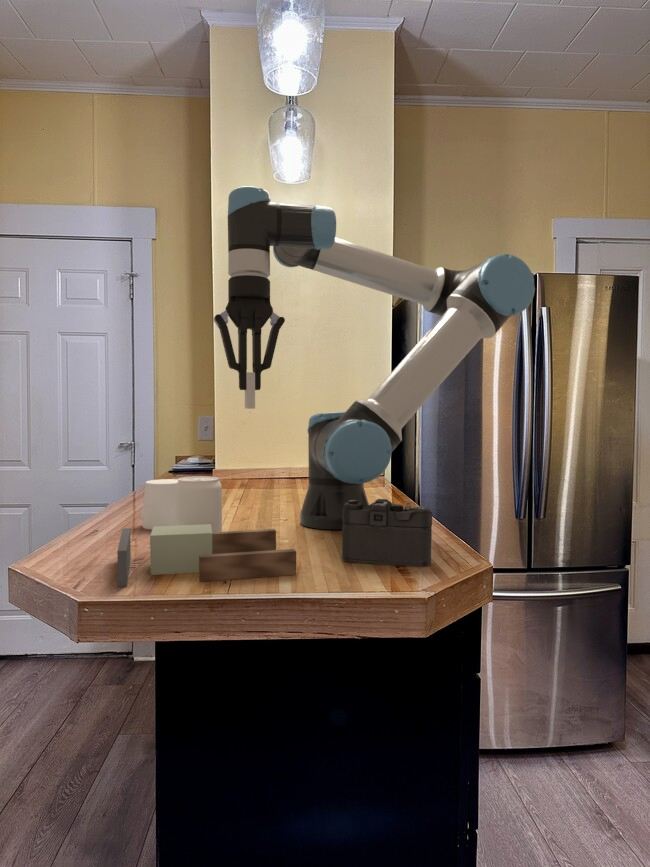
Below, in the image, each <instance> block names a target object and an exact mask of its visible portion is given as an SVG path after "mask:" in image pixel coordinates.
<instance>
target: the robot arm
mask: <svg viewBox="0 0 650 867" xmlns="http://www.w3.org/2000/svg"><path fill="white" fill-rule="evenodd" d="M227 201H228V204H227V248H228V251H227V253H228V261H227V262H228V263H227V264H228V265H227V268H228V269H227V270H228V272H227V273H228V275H229V278H228V282H227V283H228V285H227V286H228V287H227V288H228V289H227V290H228V291H227V292H228V302H227V305H226V307H225V310H224V311H223V312H221V313H219V314H216V315H215V316H214V317H213V321H214V323H215V324H216V326H217V327H218V329H219V333H220V337H221V340H222V345H223V348H224V353H225V356H226V361H227V365H228V368H229V369H230V370H234V371H237V372H238V388H239V390H240V391H244V409H246V410H247V409H250V410H251V409H256V391H260V390H261V388H262V386H261V385H262V384H261V383H262V382H261V380H262V379H261V378H262V375H261V374H262V372H263V371H266V370H268V369H270V368H271V367H272V363H273V360H274V355H275V351H276V345H277V341H278V337H279V332H280V329H282V326H283V325H284V324H285V322H286V318H285V317H283V316H279V315H278V314H277V313H275V312H274V309H273V307H272V304H271V280H270V279H269V277H270V276H271V250H270V248H271V247H272V253H273V255H274V258H275V259H276V261H277V262H278V263H279V264H280V265H282V266H284V267H286V268H296V267H301V268H305V269H309V270H312V271H315V272H319V273H321V274H324V275H328V276H330V277H334V278H336V279H340V280H343V281H347V282H351V283H353V284H355V285H359V286H361V287H362V286H363V287H365V288H369V289H372V290H375V291H378V292H380V293H381V292H382V293H385V294H388V295H392V296H394V297H397V298H401V299H403V300H406V301H411V302H413V303H415V304H420V305H422V307H423V309H424V311H426V312H429V313H431V314H435V315H438V316H440V317H439V319H437V320H436V322H435V323H434V324H433V325H432V326H431V327H430V329H429V330H428V331H426V333H425V334H424V335H423V336H422V338H420V340H419V341H418V342H417V343H416V344H415V345H414V346H413V348H412V349H411V350H410V351H409V352H408V353H407V354H406V356H405V357H403V359H402V360H401V361H400V362H399V363H398V364H397V366H395V368H394V369H393V370H392V371H391V372H390V374H389V375H388V376H386V378H385V379H384V380H383V381H382V382H381V383H380V385H379V386H378V387H377V388H376V389H375V390H374V392H373V393H372V394H371V395H370V396H369V397H368V398H366V399H356V400H355V401H354V402H353V403H352V404H351V405H350V406H349V408H348V409H347V410H346V411H330V412H324V413H323V412H321V413H315V414H313V415H311V416H310V418H309V419H308V420H309V421H308V427H307V435H308V437H307V438H308V440H307V441H308V445H307V446H308V449H307V450H308V488H307V491H306V494H305V496H304V500H303V503H302V507H301V509H300V514H299V515H300V516H299V517H300V518H299V522H300V523H299V524H300V525H302V526H305V527H306V528H307V527H308V528H312V529H319V530H320V529H321V530H343V508H344V504H345V503H348V501H349V500H358V503H361V504H363V507H366V506H369V505H370V503H369V501H368V496H367V494H366V490H365V485H364V484H367V483H370V482H372V481H374V480H375V479H378V477H380V476H381V475H382V474H383V473H384V472H385V471H386V469H387V468H388V467H389V464H390V462H391V458H392V453H393V451H394V450H395V449H396V448H397V447H398V446H399V445H400V443H401V442H402V441H403V437H402V436H403V434H402V430H403V428H404V426H405V425H406V424H408V422H409V421H410V420H411V419H412V418H413V416H414V415H415V414H416V412H418V411H419V409H420V408H421V407H422V406H423V405H424V404H425V402H427V400H428V399H429V398H430V397H431V396H432V395H433V393H434V392H435V391H436V390H437V389H438V388H439V387H440V385H441V384H442V383H443V382H444V381H445V380H446V379H447V378H448V377H449V376H450V374H451V373H452V372H453V371H454V370H455V369H456V368H457V366H458V365H459V364H460V363H461V362H462V360H464V358H466V356H467V355H468V354H469V353H470V351H471V350H472V349H473V348H474V347H475V346H476V345H477V343H478V342H479V341H480V340H481V339H492V338H493V337H494V336H495V335H496V334H497V332H498V331H499V330H500V329H501V328H502V327H503V326H504V324H506V323H507V321H508V320H509V319H510V318H512V317H514V316H518V315H519V314H521V313H523V312H524V311H525V310H526V309H527V308H528V307H529V306H530V304H532V301H533V299H534V296H535V292H536V287H535V277H534V274H533V273H532V270H531V269H530V267H529V266H528V265H527V264H526V262H525V261H524V260H522V259H521V258H519V257H518V256H516V255H513V254H510V253H509V254H508V253H501V254H498V255H491V256H489V257H487V258H486V259H485V260H484V261H481V262H480V263H477V264H476V265H473V266H472V267H469V268H468V269H464V270H457V269H456V270H455V269H454V270H453V269H449V268H445V267H442V266H439V267H437V268H435V269H432V268H429V267H427V266H423V265H421V264H417V263H414V262H411V261H409V260H405V259H402V258H398V257H396V256H394V255H390V254H387V253H383V252H381V251H378V250H374V249H372V248H368V247H365V246H362V245H359V244H357V243H353V242H350V241H347V240H345V239H341V238H338V237H336V235H337V216H336V213H335V212H336V211H334V209H333V208H331V207H329V206H328V207H327V206H322V205H317V204H310V205H309V204H307V205H305V204H295V203H294V204H293V203H280V202H278V203H276V202H273V201H272V199H271V196H270V193H269V191H267V189H264V188H263V187H257V186H252V185H245V186H239V187H236V188H234V189H232V190H231V192H230V193H229V194H228V199H227ZM228 318H229V319H230V320H231V322H232V323H233V324H234V326H235V327H236V328H237V337H238V339H237V340H238V341H237V343H238V344H237V345H238V346H237V347H238V348H237V350H238V352H237V353H238V360H237V359H236V355H235V351H234V347H233V343H232V339H231V334H230V331H229V327H228V325H227V324H229V319H228ZM269 319H270V322H269V324H270V326H271V329H270V331H269V335H268V340H267V343H266V347H265V352H264V357H263V360H262V329H263V327H264V326H265V325H266V323H267V322H268V320H269ZM248 330H250V331H251V337H252V338H251V340H252V346H251V347H252V351H251V352H252V353H251V354H252V355H251V356H252V357H251V358H252V364H251V365H252V372H248V371H247V369H248V336H247V335H248ZM237 361H238V362H237Z"/></svg>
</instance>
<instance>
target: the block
mask: <svg viewBox="0 0 650 867" xmlns="http://www.w3.org/2000/svg"><path fill="white" fill-rule="evenodd" d="M149 537H150V538H149V542H150V545H149V546H150V548H149V549H150V575H151V576H155V575H157V576H158V575H171V574H173V575H174V574H175V575H176V574H191V573H192V574H193V572H195V573H199V555H207V554H212V528H211V524H206V525H181V526H155V527H153V529H152V530H151V532H150V535H149Z"/></svg>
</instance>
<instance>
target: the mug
mask: <svg viewBox="0 0 650 867" xmlns="http://www.w3.org/2000/svg"><path fill="white" fill-rule="evenodd" d="M178 479H179V478H169V479H168V478H167V479H166V478H165V479H163V478H161V479H150V480H147V481H145V485H144V486H145V487H144V494H143V495H144V496H143V508H142V509H141V511H140V512H141V513H140V514H141V516H140V518H141V520H142V521H143V522H142V528H143V529H146V530H151V531H152V529H153V527H155V526H176V514H175V486H176V484H177V483H178Z"/></svg>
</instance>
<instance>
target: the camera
mask: <svg viewBox="0 0 650 867" xmlns="http://www.w3.org/2000/svg"><path fill="white" fill-rule="evenodd" d="M405 504H406V506H404V504H399V503H397V504H396V503H395V504H394V503H393V502H391V501H390V500H389V499H386V498H377V499H376V500H374V501H372V502H371V503H369V506H366V507H363V504H361V503H358V500H349V501H348V503H345V504H344V508H343V529H341V530H342V534H341V535H342V537H341V539H342V540H341V542H342V544H341V551H342V552H341V556H342V557H341V558H342V560H343V561H344V562H347V563H349V562H350V563H360V564H371V565H373V564H374V565H383V566H384V565H386V566H399V567H400V566H403V567H418V568H426V567H429V566H431V562H432V534H433V532H432V531H433V530H432V526H433V512H432V511H431V508H430V507H427V506H413V507H412V506H411V502H410V501H406V502H405Z"/></svg>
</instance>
